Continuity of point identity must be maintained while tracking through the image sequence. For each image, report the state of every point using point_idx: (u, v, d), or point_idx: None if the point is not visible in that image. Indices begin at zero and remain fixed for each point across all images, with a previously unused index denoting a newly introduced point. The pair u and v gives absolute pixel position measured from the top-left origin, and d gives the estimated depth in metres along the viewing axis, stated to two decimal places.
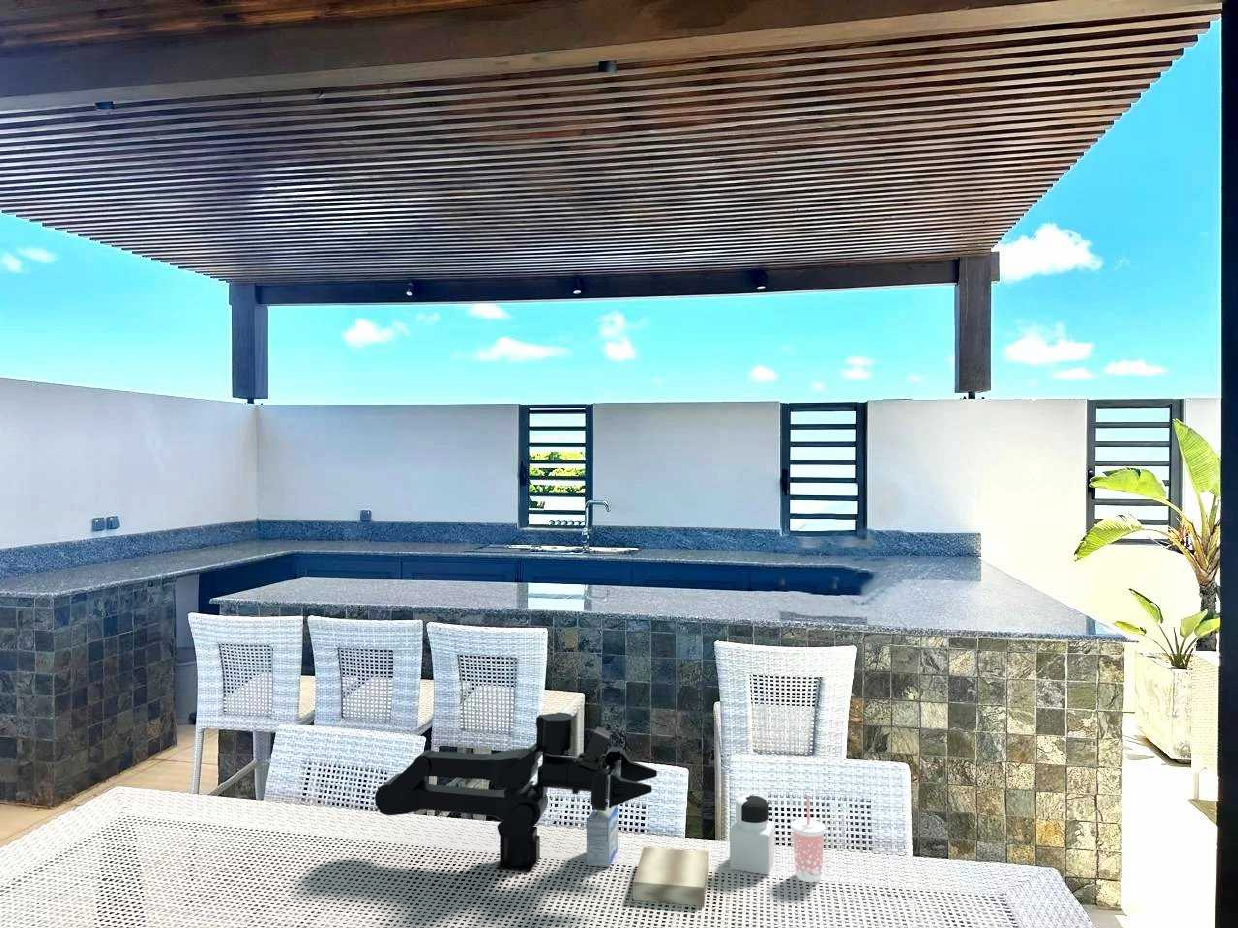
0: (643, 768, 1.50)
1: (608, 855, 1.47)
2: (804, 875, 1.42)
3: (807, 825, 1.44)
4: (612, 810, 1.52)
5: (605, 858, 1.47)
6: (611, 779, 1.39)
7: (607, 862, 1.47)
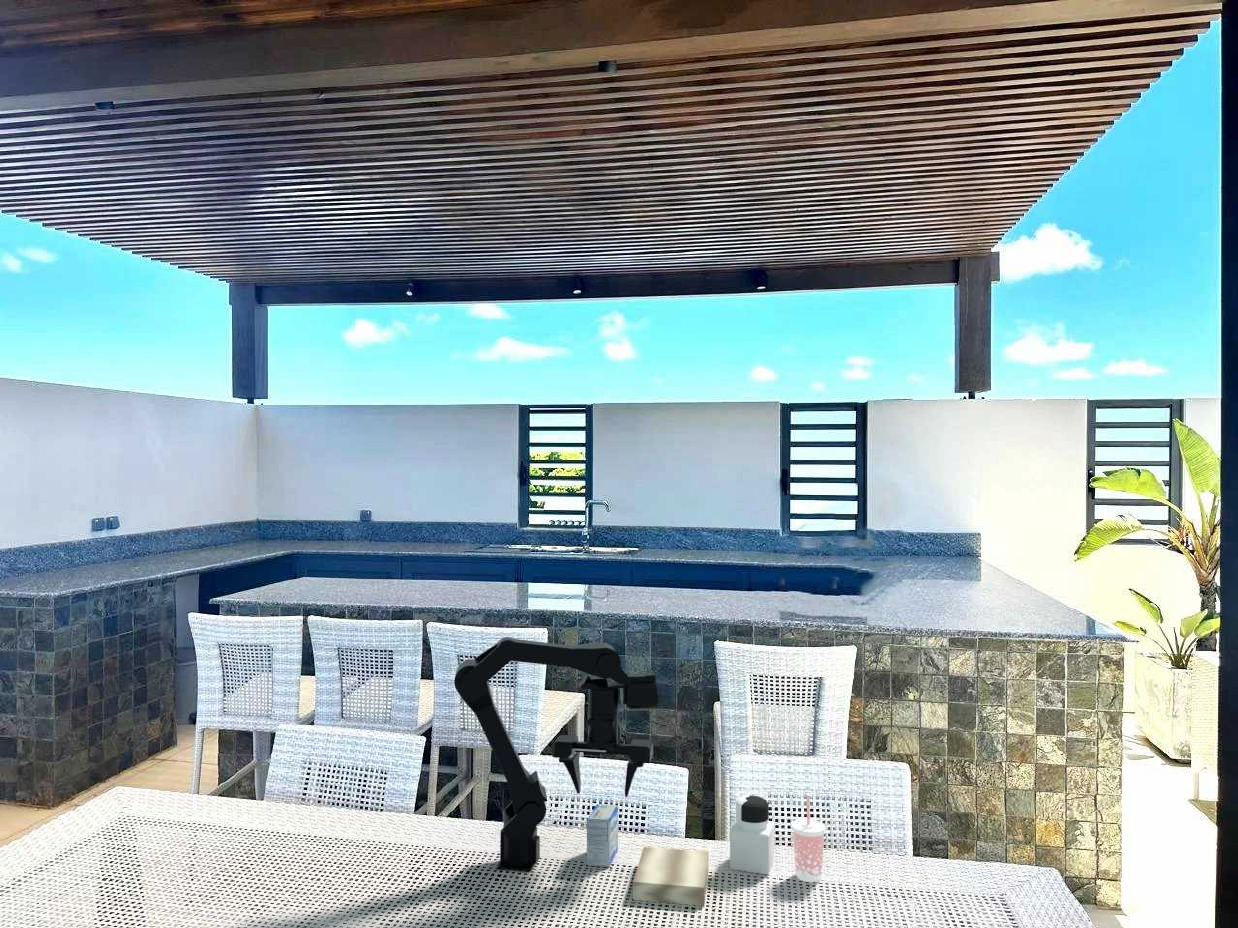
0: None
1: (608, 855, 1.47)
2: (804, 875, 1.42)
3: (807, 825, 1.44)
4: (612, 810, 1.52)
5: (605, 858, 1.47)
6: None
7: (607, 862, 1.47)
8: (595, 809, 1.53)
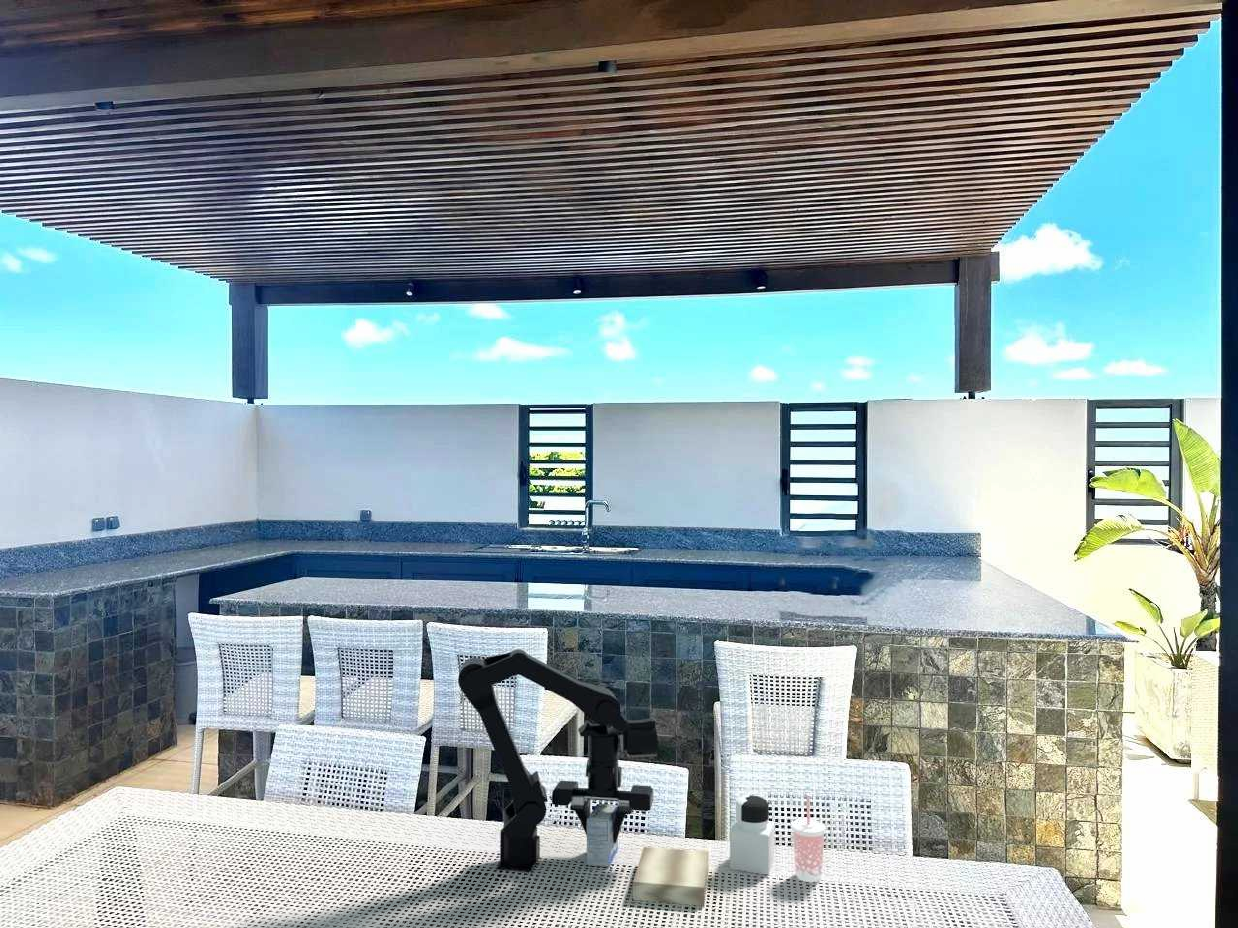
0: None
1: (608, 855, 1.47)
2: (804, 875, 1.42)
3: (807, 825, 1.44)
4: (612, 810, 1.52)
5: (605, 858, 1.47)
6: None
7: (607, 862, 1.47)
8: (595, 809, 1.53)
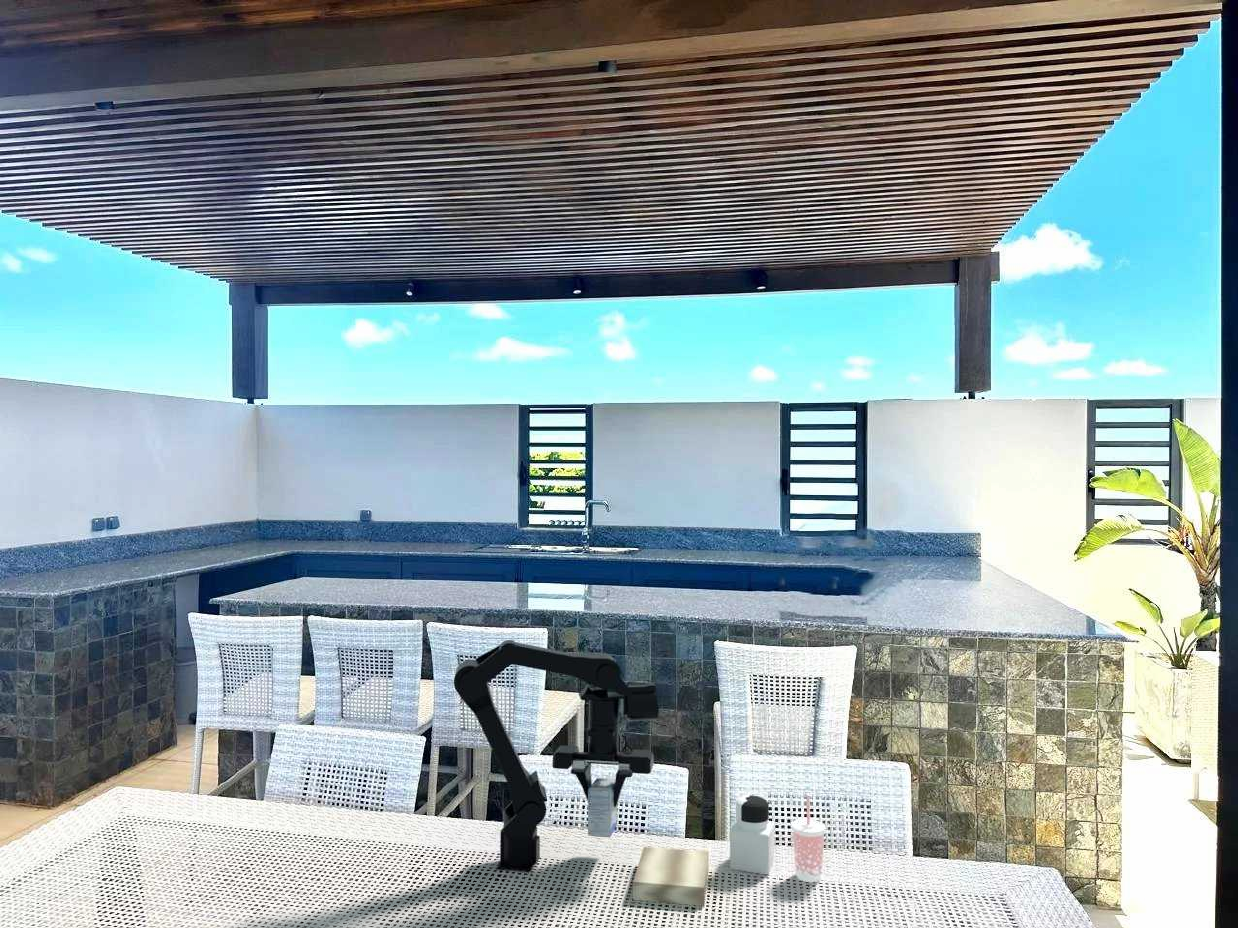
0: None
1: (609, 825, 1.47)
2: (804, 875, 1.42)
3: (807, 825, 1.44)
4: (613, 782, 1.53)
5: (606, 828, 1.47)
6: None
7: (608, 832, 1.47)
8: (596, 781, 1.53)
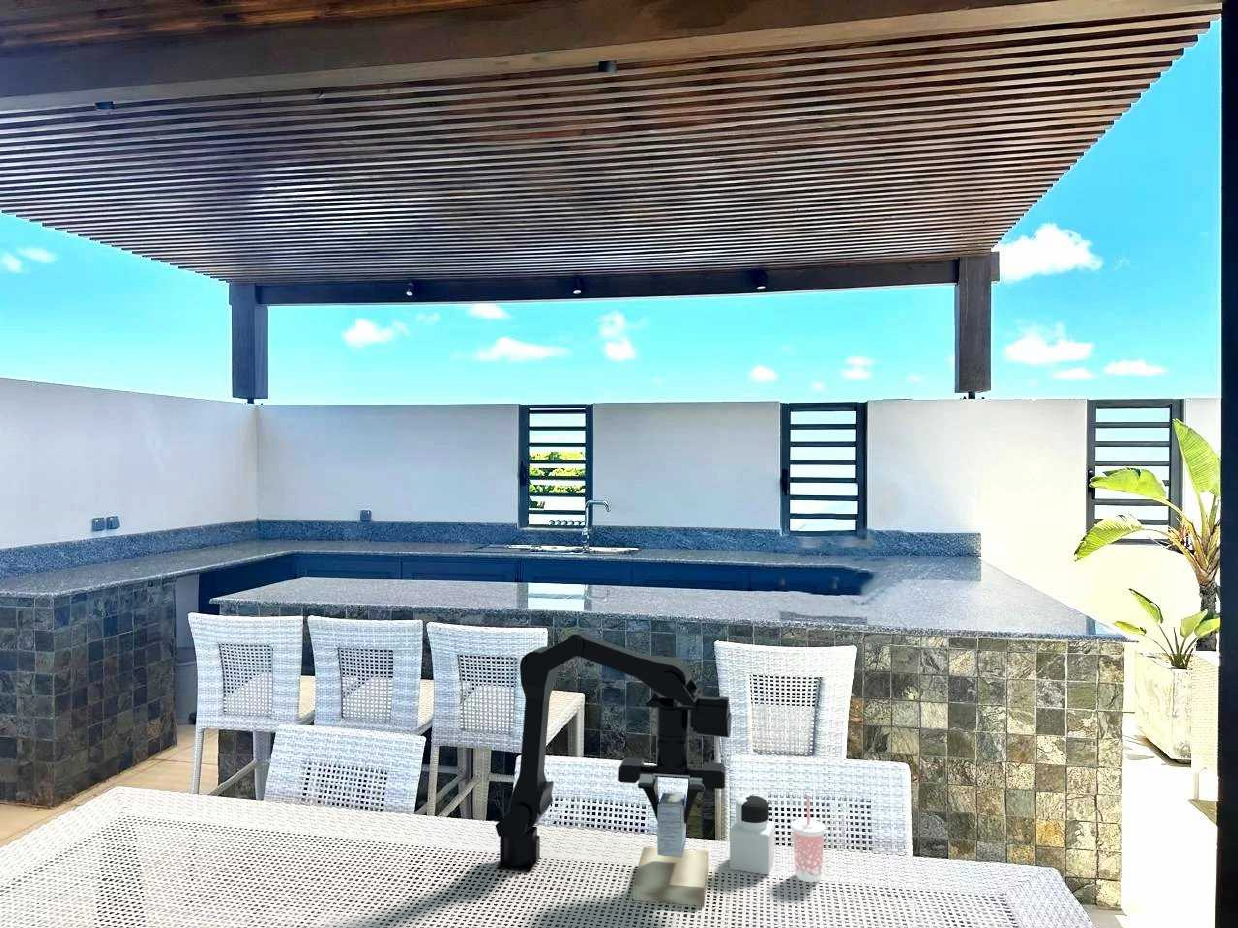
0: None
1: (681, 843, 1.37)
2: (804, 875, 1.42)
3: (807, 825, 1.44)
4: (682, 797, 1.43)
5: (677, 847, 1.37)
6: None
7: (679, 851, 1.37)
8: (663, 796, 1.43)
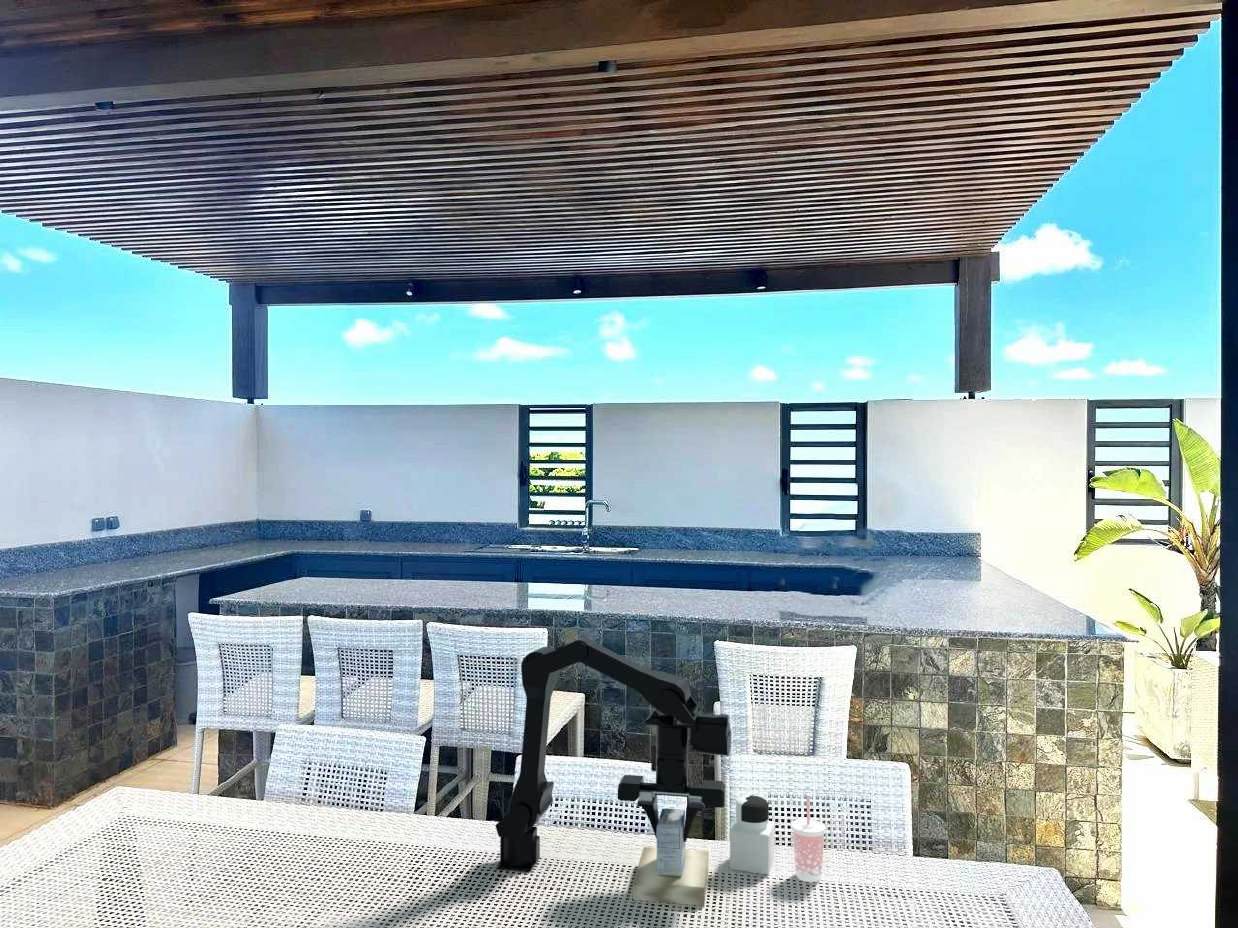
0: None
1: (680, 864, 1.37)
2: (804, 875, 1.42)
3: (807, 825, 1.44)
4: (681, 815, 1.42)
5: (677, 867, 1.37)
6: None
7: (679, 871, 1.37)
8: (662, 814, 1.42)
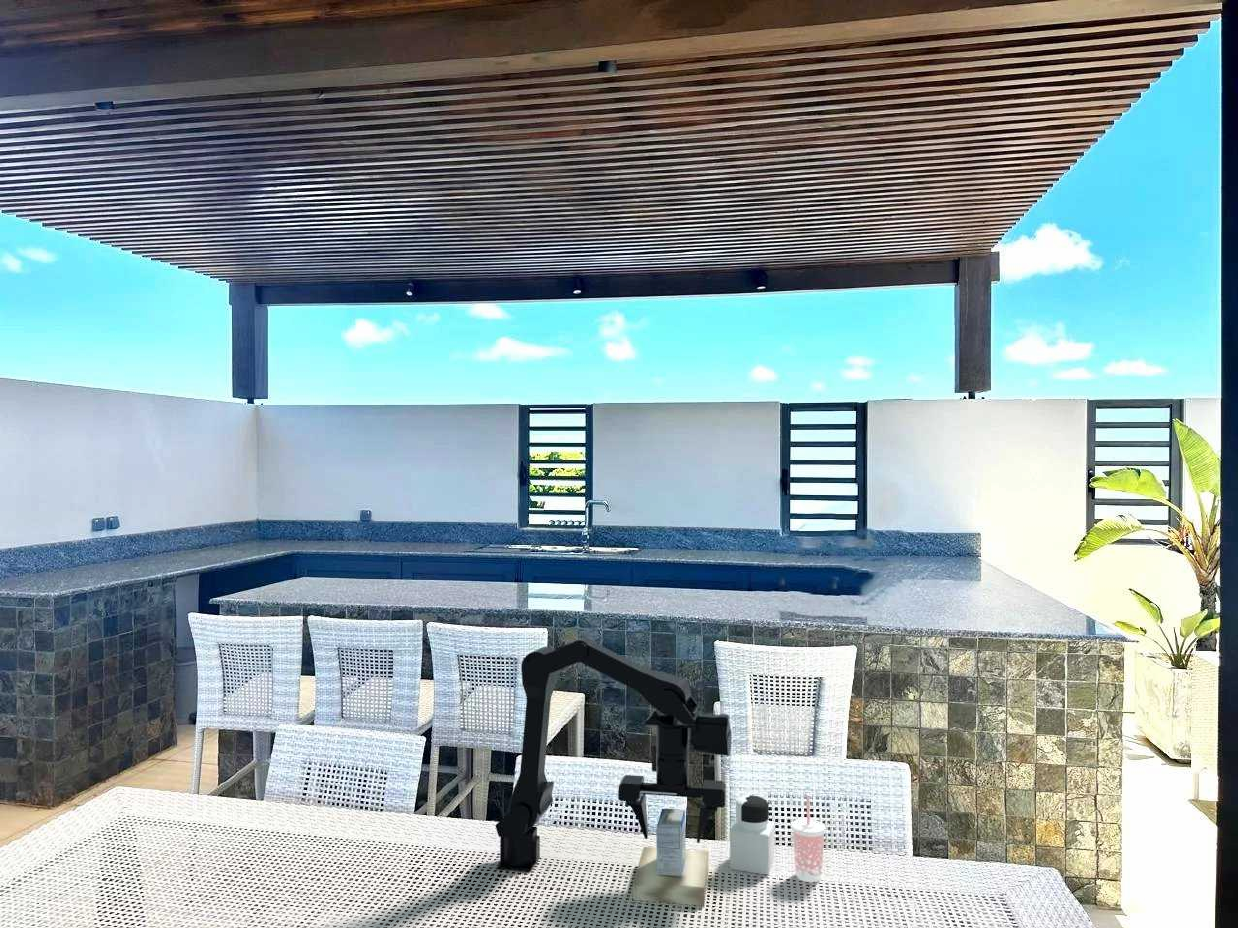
0: (647, 821, 1.43)
1: (680, 864, 1.37)
2: (804, 875, 1.42)
3: (807, 825, 1.44)
4: (681, 815, 1.42)
5: (677, 867, 1.37)
6: None
7: (679, 871, 1.37)
8: (662, 814, 1.42)
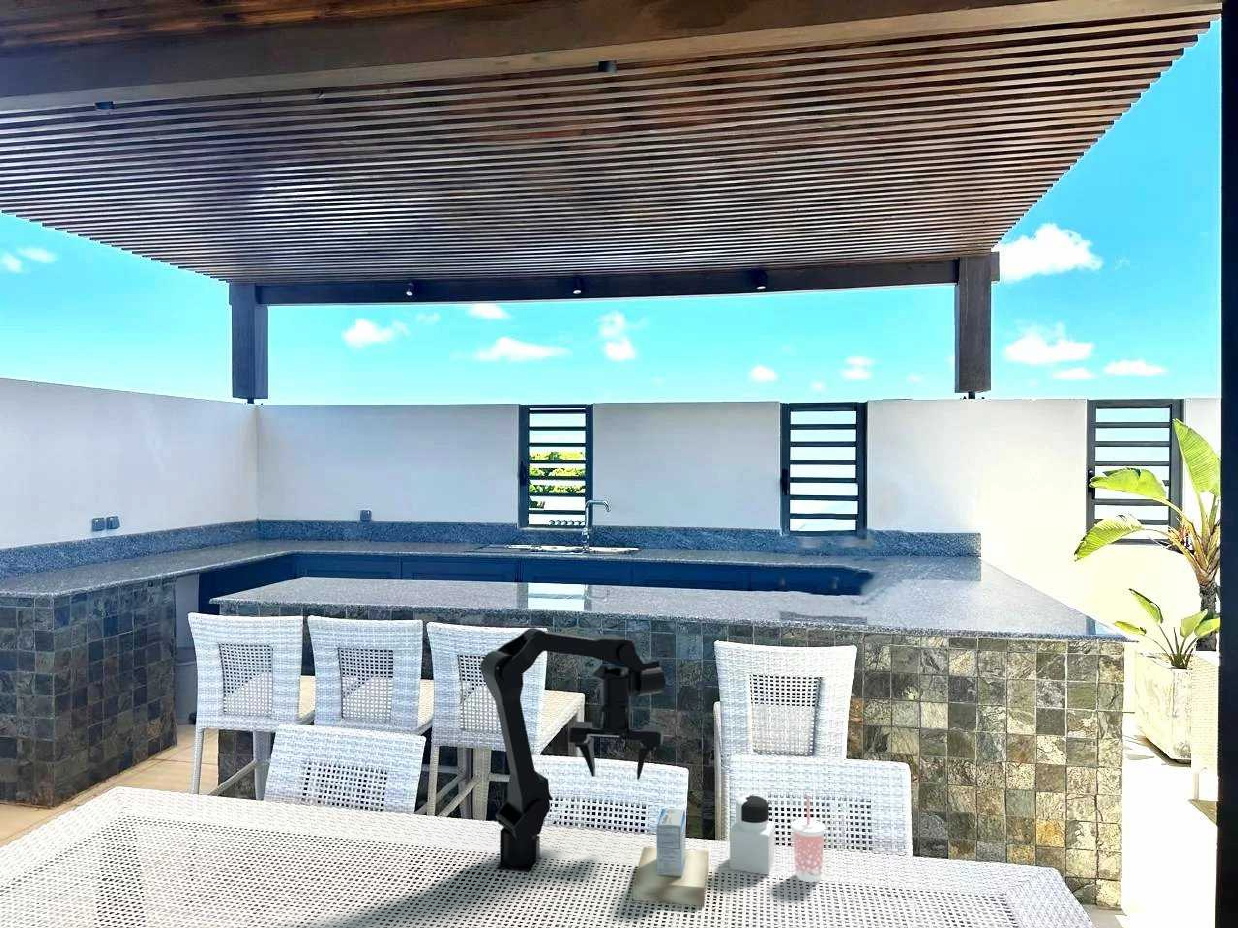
0: (594, 762, 1.62)
1: (680, 864, 1.37)
2: (804, 875, 1.42)
3: (807, 825, 1.44)
4: (681, 815, 1.42)
5: (677, 867, 1.37)
6: None
7: (679, 871, 1.37)
8: (662, 814, 1.42)
